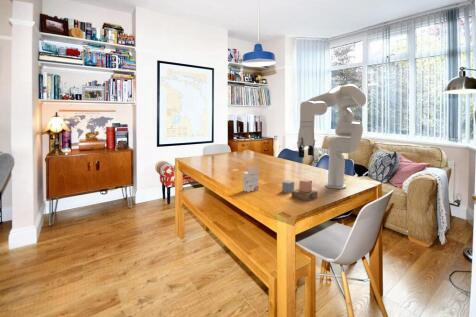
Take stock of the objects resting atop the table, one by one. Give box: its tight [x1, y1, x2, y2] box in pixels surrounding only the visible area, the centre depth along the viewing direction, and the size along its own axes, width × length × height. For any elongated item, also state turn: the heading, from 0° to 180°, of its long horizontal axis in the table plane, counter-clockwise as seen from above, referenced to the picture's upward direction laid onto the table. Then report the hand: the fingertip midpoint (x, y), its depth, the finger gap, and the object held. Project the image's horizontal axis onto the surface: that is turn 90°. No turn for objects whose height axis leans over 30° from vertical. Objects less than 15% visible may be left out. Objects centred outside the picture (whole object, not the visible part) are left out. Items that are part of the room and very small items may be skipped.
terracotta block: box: [298, 178, 313, 193], centre depth 141 cm, size 5×5×6 cm
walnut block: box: [291, 188, 318, 202], centre depth 142 cm, size 10×10×4 cm
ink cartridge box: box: [242, 166, 259, 193], centre depth 155 cm, size 9×5×15 cm, turn 126°
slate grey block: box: [281, 180, 295, 194], centre depth 153 cm, size 5×5×6 cm
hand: (306, 156), depth 139 cm, fingers open, 9 cm apart
